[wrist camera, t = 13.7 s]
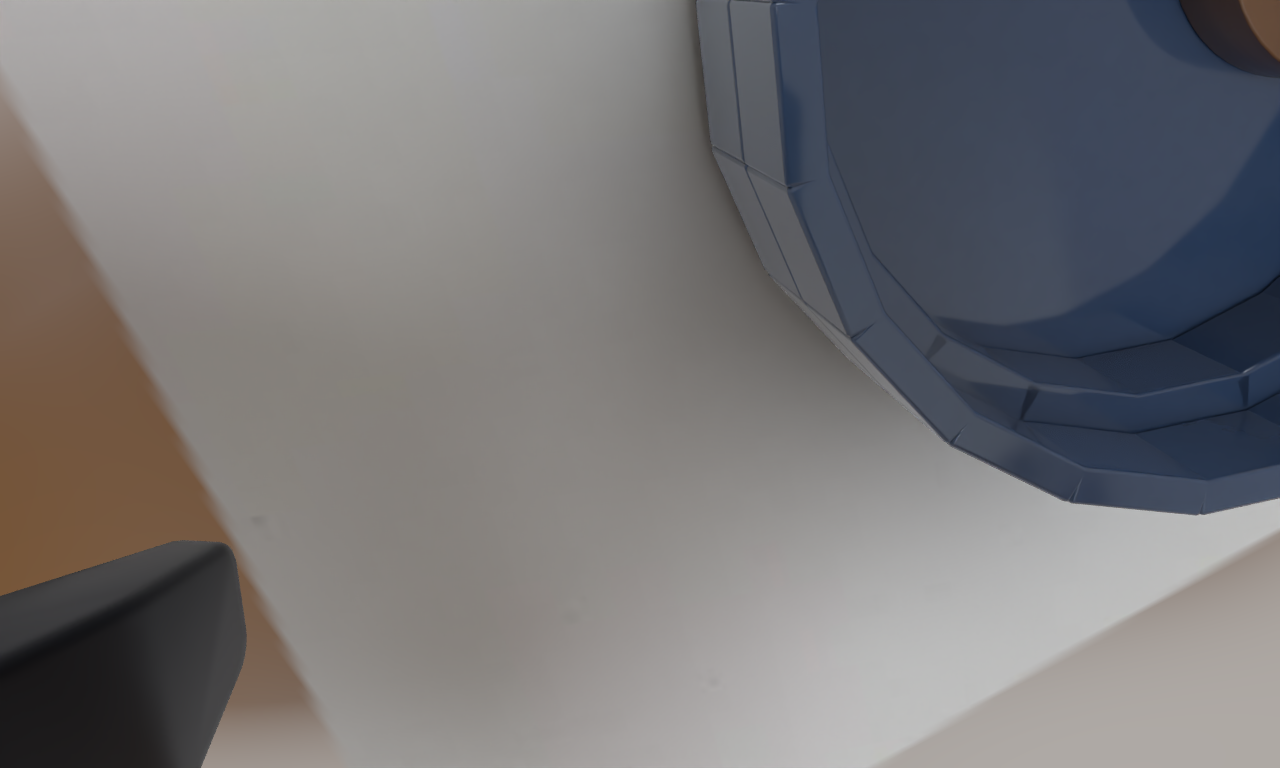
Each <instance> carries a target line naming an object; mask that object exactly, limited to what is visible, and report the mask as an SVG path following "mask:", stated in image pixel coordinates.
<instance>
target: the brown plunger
mask: <svg viewBox="0 0 1280 768" xmlns="http://www.w3.org/2000/svg"><path fill="white" fill-rule="evenodd" d="M1180 2H1181V5H1182V8H1183V10H1184V12H1185V14H1186V16H1187V18H1188V20H1189V22H1190V24H1191V25H1192V27H1193V28H1194V30H1195V31H1196V33H1197V34H1198V35H1199V37H1200V38H1201V39H1202V41H1203V42H1204V43H1205V44H1206V45H1207V46H1208V47H1209V48H1210V49H1211V50H1212V51H1213V52H1214V53H1215V54H1217V55H1218V56H1219V57H1221V58H1222V59H1223V60H1225V61H1226V62H1228V63H1229V64H1231V65H1233V66H1235V67H1237V68H1239V69H1241V70H1244V71H1247V72H1250V73H1253V74H1256V75H1261V76H1267V77H1274V78H1280V0H1180Z"/></svg>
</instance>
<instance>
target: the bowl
mask: <svg viewBox="0 0 1280 768" xmlns="http://www.w3.org/2000/svg"><path fill="white" fill-rule="evenodd" d="M696 10H697V20H698V29H699V38H700V48H701V57H702V66H703V76H704V85H705V94H706V104H707V113H708V122H709V132H710V141H711V143H712V145H713V147H712V152H713V154H714V156H715V159H716V161H717V163H718V165H719V168H720V170H721V172H722V174H723V177H724V179H725V181H726V183H727V186H728V188H729V190H730V192H731V195H732V197H733V199H734V201H735V204H736V206H737V208H738V210H739V213H740V215H741V217H742V219H743V222H744V224H745V226H746V228H747V231H748V233H749V235H750V238H751V240H752V242H753V244H754V247H755V249H756V251H757V253H758V256H759V258H760V260H761V262H762V265H763V267H764V269H765V270H766V271H767V272H768V273H769V276H770V277H771V278H772V279H773V280H774V281H775V282H776V283H777V284H778V285H779V286H780V287H781V289H782V290H783V291H784V292H785V293H786V294H787V295H788V296H789V297H790V298H791V299H792V300H793V301H794V302H795V303H796V304H797V305H798V307H799V308H800V309H801V310H802V311H803V312H804V313H805V314H806V315H807V316H808V317H809V318H810V319H811V320H812V321H813V322H814V324H815V325H816V326H817V327H818V328H819V329H820V330H821V331H822V332H823V333H824V334H825V335H826V336H827V337H828V338H829V339H830V341H831V342H832V343H833V344H834V345H835V346H836V347H837V348H838V349H839V350H840V351H841V352H842V353H843V354H844V355H845V356H846V357H847V359H849V360H850V361H851V362H852V363H853V364H854V365H855V366H857V367H858V368H859V369H860V370H861V371H862V372H864V373H865V374H866V375H867V376H868V377H869V378H871V379H872V380H873V381H874V382H875V383H876V384H878V385H879V386H880V387H881V388H882V389H883V390H885V391H886V392H887V393H888V394H889V395H891V396H892V397H893V398H894V399H895V400H896V401H897V402H898V403H900V404H901V405H902V406H903V407H904V408H905V409H907V410H908V411H909V412H910V413H911V414H912V415H914V416H915V417H916V418H917V419H918V420H919V421H921V422H922V423H923V424H924V425H925V426H926V427H927V428H929V429H930V430H931V431H932V432H933V433H934V434H936V435H937V436H938V437H939V438H940V439H941V440H943V441H944V442H946V443H947V444H948V445H950V446H951V447H953V448H955V449H957V450H959V451H961V452H963V453H965V454H967V455H969V456H971V457H973V458H975V459H977V460H980V461H982V462H984V463H986V464H988V465H990V466H992V467H994V468H996V469H998V470H1000V471H1002V472H1004V473H1006V474H1008V475H1010V476H1013V477H1015V478H1017V479H1019V480H1021V481H1023V482H1025V483H1027V484H1029V485H1031V486H1033V487H1035V488H1037V489H1039V490H1041V491H1044V492H1046V493H1048V494H1050V495H1052V496H1054V497H1056V498H1058V499H1060V500H1062V501H1068V502H1070V503H1075V504H1085V505H1095V506H1106V507H1116V508H1126V509H1137V510H1147V511H1157V512H1167V513H1178V514H1188V515H1199V514H1203V515H1205V514H1210V513H1215V512H1219V511H1224V510H1228V509H1233V508H1237V507H1242V506H1246V505H1251V504H1255V503H1260V502H1264V501H1269V500H1273V499H1278V498H1280V78H1274V77H1267V76H1261V75H1256V74H1253V73H1250V72H1247V71H1244V70H1241V69H1239V68H1237V67H1235V66H1233V65H1231V64H1229V63H1228V62H1226V61H1225V60H1223V59H1222V58H1221V57H1219V56H1218V55H1217V54H1215V53H1214V52H1213V51H1212V50H1211V49H1210V48H1209V47H1208V46H1207V45H1206V44H1205V43H1204V42H1203V41H1202V39H1201V38H1200V37H1199V35H1198V34H1197V33H1196V31H1195V30H1194V28H1193V27H1192V25H1191V24H1190V22H1189V20H1188V18H1187V16H1186V14H1185V12H1184V10H1183V8H1182V5H1181V2H1180V0H696Z"/></svg>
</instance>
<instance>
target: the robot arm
mask: <svg viewBox="0 0 1280 768" xmlns="http://www.w3.org/2000/svg"><path fill="white" fill-rule="evenodd" d="M245 651H246V625H245V619H244V612H243V605H242V598H241V592H240V584H239V577H238V571H237V564H236V559H235V556H234V554H233V551H232V550H231V548H230V547H229V546H228V545H226V544H224V543H221V542H206V541H185V540H182V541H173V542H170V543H166V544H163V545H161V546H157V547H154V548H151V549H147V550H144V551H141V552H138V553H135V554H132V555H129V556H125V557H122V558H119V559H116V560H113V561H110V562H107V563H103V564H100V565H97V566H94V567H91V568H88V569H84V570H81V571H78V572H75V573H72V574H69V575H65V576H62V577H59V578H56V579H53V580H50V581H46V582H43V583H40V584H37V585H34V586H31V587H28V588H24V589H21V590H18V591H15V592H12V593H9V594H6V595H2V596H0V768H201V766H202V763H203V761H204V759H205V756H206V754H207V751H208V749H209V746H210V744H211V741H212V739H213V737H214V734H215V732H216V729H217V727H218V725H219V722H220V720H221V717H222V715H223V712H224V710H225V707H226V705H227V703H228V700H229V698H230V695H231V693H232V690H233V688H234V686H235V683H236V681H237V678H238V676H239V673H240V670H241V668H242V665H243V661H244V657H245Z"/></svg>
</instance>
